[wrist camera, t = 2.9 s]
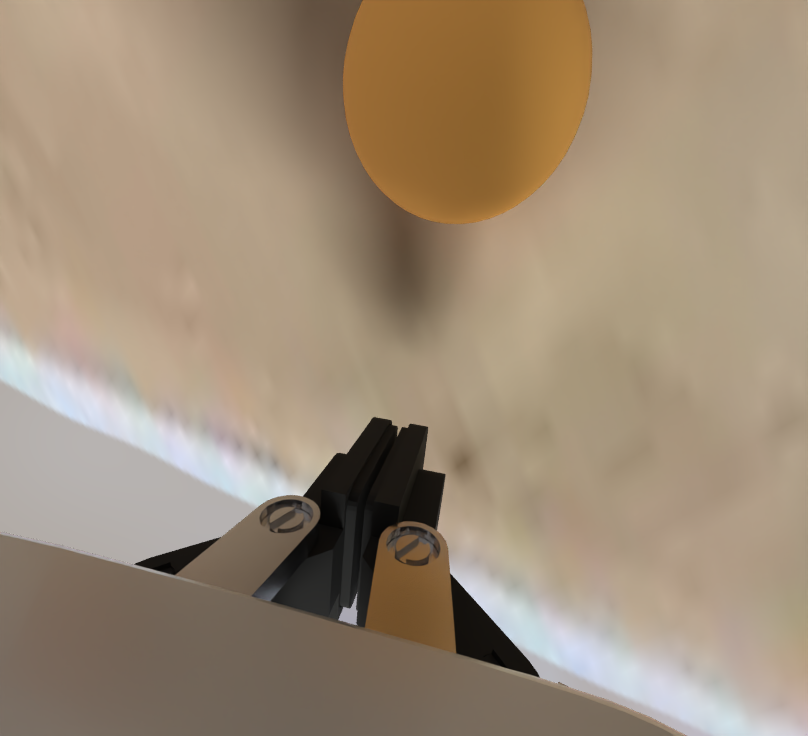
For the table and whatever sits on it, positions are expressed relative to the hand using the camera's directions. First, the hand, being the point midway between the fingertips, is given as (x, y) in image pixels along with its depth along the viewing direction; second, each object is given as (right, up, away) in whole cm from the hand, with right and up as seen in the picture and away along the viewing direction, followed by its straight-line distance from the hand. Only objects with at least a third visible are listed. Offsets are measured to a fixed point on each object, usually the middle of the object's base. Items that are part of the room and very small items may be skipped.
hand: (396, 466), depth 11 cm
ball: (+2, +10, -2) cm, 10 cm away
